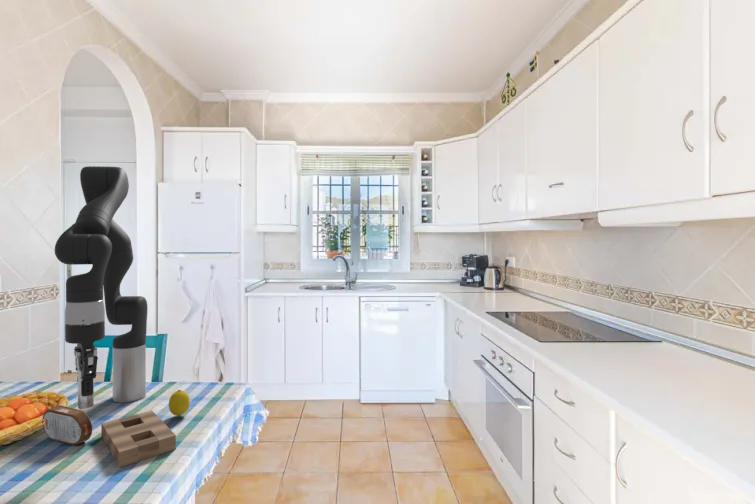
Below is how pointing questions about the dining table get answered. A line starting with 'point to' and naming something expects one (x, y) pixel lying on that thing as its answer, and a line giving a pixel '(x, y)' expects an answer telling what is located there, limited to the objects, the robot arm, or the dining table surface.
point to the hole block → (137, 437)
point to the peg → (87, 400)
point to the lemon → (179, 403)
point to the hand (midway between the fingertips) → (85, 392)
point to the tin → (67, 425)
